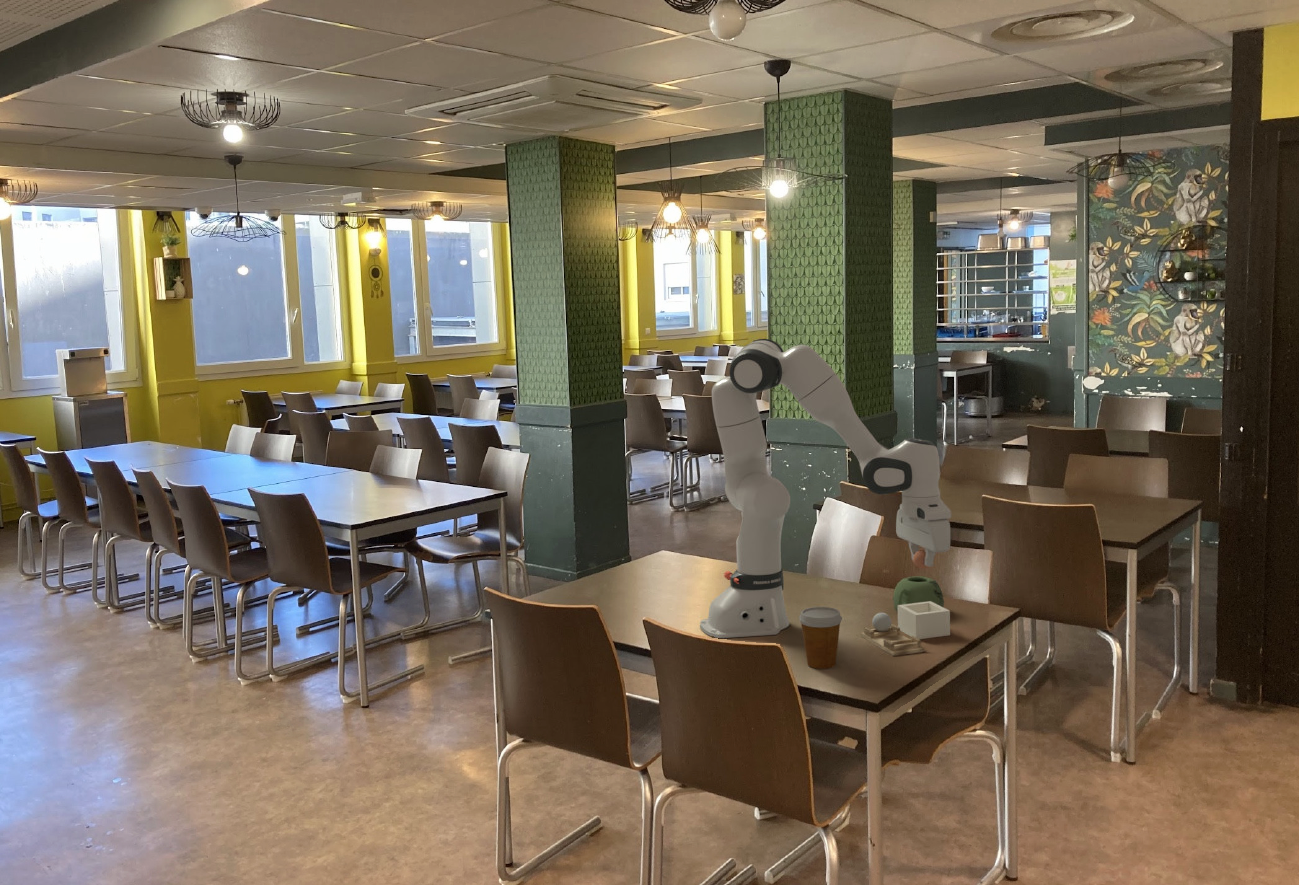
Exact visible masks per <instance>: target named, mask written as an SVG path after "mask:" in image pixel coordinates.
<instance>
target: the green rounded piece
mask: <svg viewBox="0 0 1299 885" xmlns="http://www.w3.org/2000/svg"><path fill="white" fill-rule="evenodd" d="M893 591H894V592H893V596H892V597H893V598H892V602H893V606H894V610H895V611H896V612H898V605H904V604H912V603H920V602H928V601H931V602H933V603H935V604H937V605H939V606H941V607H943V608H944V605H945V600H944V594H943V592H942V589H941V587H940V585H939V583H938V582H937V581H936V580H935V579H934V578H930V577H926V576H920V575H917V576H915V575H913V576H908V577H904V578H902V579H901V580H899V582H897V584H896V586H895V588H894V590H893Z"/></svg>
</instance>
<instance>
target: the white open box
mask: <svg viewBox="0 0 1299 885" xmlns="http://www.w3.org/2000/svg"><path fill="white" fill-rule="evenodd" d="M950 616H951V611H950V610H949V609H947V608H946V607H944V606H943V607H941V606H939V605H937V604H935V603H933V602H931V601H928V602H920V603H912V604H904V605H898V611H897V627H899V628H900V632H903V633H904V634H906V635H907V636H909V637H910V636H915V637H916V638H918V639H920V640H924V639H932V638H937V637H946V636H950V635H951V617H950Z"/></svg>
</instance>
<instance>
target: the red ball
mask: <svg viewBox="0 0 1299 885" xmlns="http://www.w3.org/2000/svg"><path fill="white" fill-rule="evenodd" d="M925 556H926V552H925V549H919V551H917V552H916V553H915V554H914V556H913V560H912V562H913V564H914V566H915V567H916V568H918V569H920V570H925V569H929V567H928V566H925V565H924V561H923V558H925Z"/></svg>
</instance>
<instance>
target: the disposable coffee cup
mask: <svg viewBox="0 0 1299 885" xmlns="http://www.w3.org/2000/svg"><path fill="white" fill-rule="evenodd" d="M798 620H799V622H800V624H801V625H800V626H801V632H802V636H803V642H804V650H805V656H806V657H805V658H806V663H807V666H808V667H810V668H812V669H813V668H814V669H818V670H825V669H831V668H834V667H835V666H836V665H837V656H838V655H837V654H838V648H839V647H838V645H839V636H840V635H839V634H840V627H841V622H842V620H843V617H842V615H841V613H840V610H839V609H837V608H833V607H826V606H812V607H807V608H804V609H802V610H801V611H800V615H799V616H798Z"/></svg>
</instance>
